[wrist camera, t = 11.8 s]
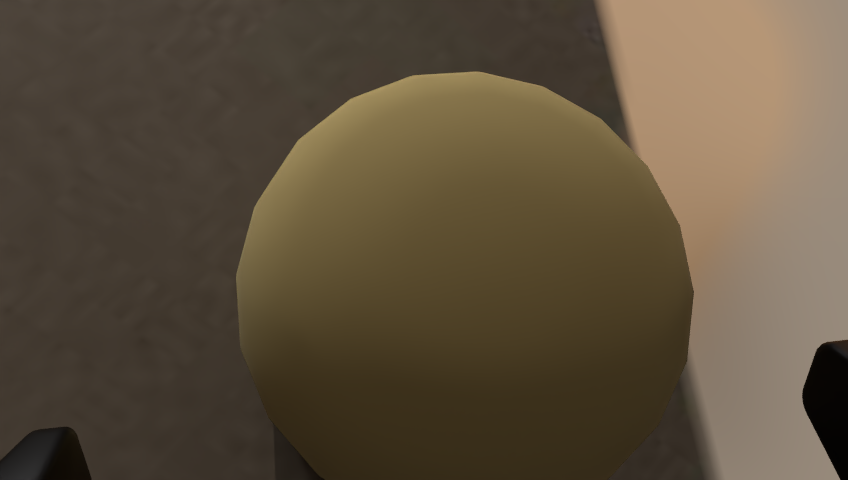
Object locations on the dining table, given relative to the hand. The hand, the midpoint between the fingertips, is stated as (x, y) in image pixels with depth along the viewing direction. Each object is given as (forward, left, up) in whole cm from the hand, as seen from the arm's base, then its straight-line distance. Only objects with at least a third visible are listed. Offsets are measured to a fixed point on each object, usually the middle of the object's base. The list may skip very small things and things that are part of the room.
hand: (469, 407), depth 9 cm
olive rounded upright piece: (+1, 0, -9) cm, 9 cm away
